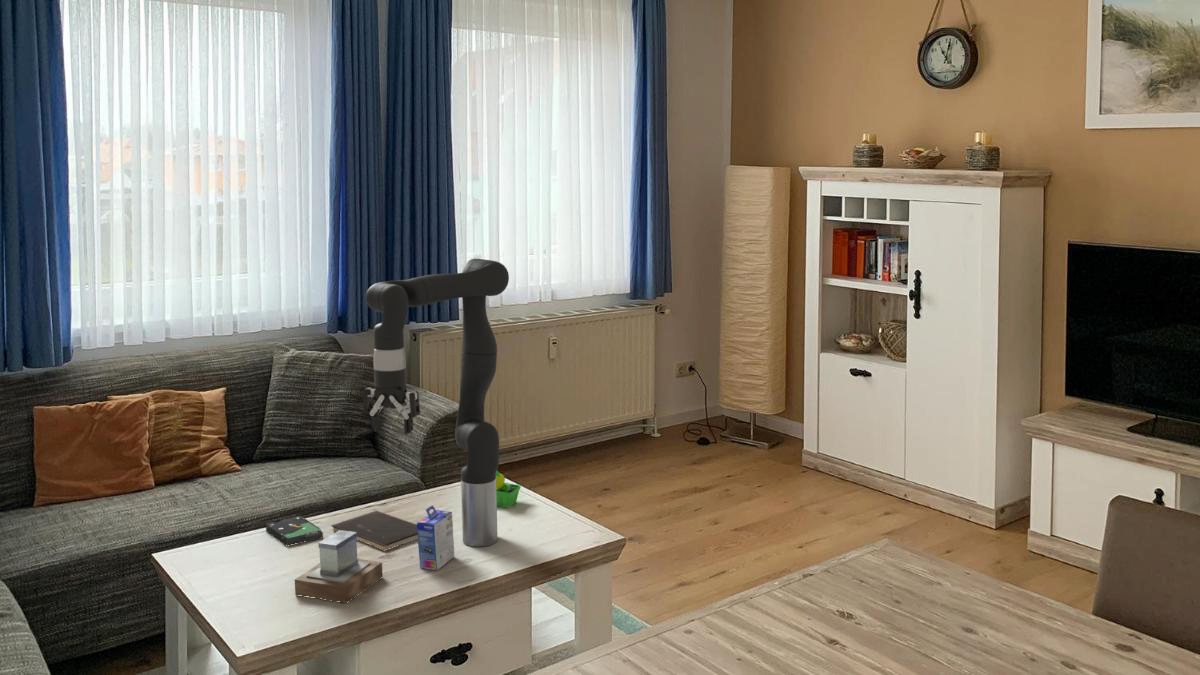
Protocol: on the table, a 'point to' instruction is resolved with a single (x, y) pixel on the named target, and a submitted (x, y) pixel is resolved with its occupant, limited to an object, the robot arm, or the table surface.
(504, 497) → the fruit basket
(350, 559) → the box
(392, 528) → the hardcover book
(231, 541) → the table surface
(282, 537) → the disk drive
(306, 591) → the walnut stand
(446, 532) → the ink cartridge box
